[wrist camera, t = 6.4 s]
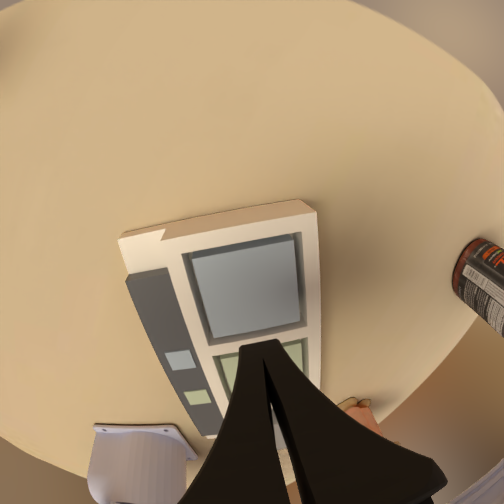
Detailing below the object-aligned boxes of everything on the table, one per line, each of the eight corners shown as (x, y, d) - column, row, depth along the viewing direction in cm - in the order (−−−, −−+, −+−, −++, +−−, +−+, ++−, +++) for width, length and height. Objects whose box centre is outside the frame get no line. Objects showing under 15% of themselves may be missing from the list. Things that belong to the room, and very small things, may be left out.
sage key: (233, 390, 19) (235, 404, 17) (219, 343, 17) (220, 359, 15) (298, 376, 19) (303, 390, 18) (295, 328, 17) (301, 342, 16)
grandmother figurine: (316, 418, 24) (354, 523, 12) (335, 395, 23) (385, 508, 11) (370, 415, 26) (412, 499, 14) (390, 394, 25) (440, 481, 13)
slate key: (213, 322, 16) (213, 338, 15) (193, 247, 14) (191, 259, 13) (293, 307, 16) (299, 320, 15) (286, 230, 14) (293, 239, 13)
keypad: (207, 430, 23) (208, 454, 20) (122, 233, 14) (106, 252, 12) (309, 412, 23) (317, 434, 21) (299, 198, 15) (316, 211, 13)
